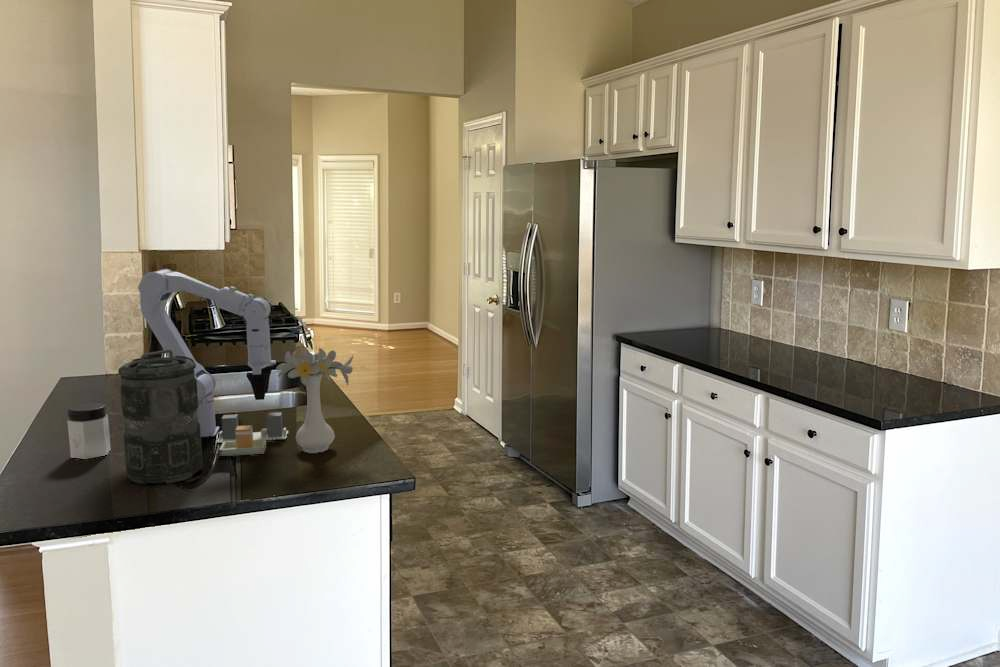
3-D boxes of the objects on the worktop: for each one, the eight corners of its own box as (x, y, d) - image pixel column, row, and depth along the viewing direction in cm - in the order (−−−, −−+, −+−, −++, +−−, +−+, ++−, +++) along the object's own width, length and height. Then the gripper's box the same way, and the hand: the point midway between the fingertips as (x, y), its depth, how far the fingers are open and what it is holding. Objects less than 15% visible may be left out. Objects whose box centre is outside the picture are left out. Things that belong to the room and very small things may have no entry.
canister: (156, 491, 172) (146, 361, 167) (111, 478, 180) (101, 353, 176) (218, 470, 185) (210, 349, 181) (173, 458, 194) (165, 342, 189)
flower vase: (362, 450, 199) (359, 350, 195) (286, 462, 191) (281, 357, 187) (346, 437, 211) (342, 341, 206) (274, 447, 202) (269, 348, 198)
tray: (219, 457, 195) (218, 449, 194) (224, 448, 202) (223, 441, 201) (263, 454, 196) (263, 447, 196) (266, 445, 203) (266, 439, 203)
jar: (62, 458, 194) (58, 409, 192) (89, 448, 202) (84, 401, 200) (92, 461, 192) (88, 412, 190) (118, 451, 199) (114, 403, 197)
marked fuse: (236, 452, 197) (235, 430, 196) (238, 447, 200) (237, 426, 199) (251, 451, 197) (250, 429, 197) (253, 446, 201) (252, 425, 200)
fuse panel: (216, 444, 205) (215, 420, 204) (221, 436, 212) (219, 413, 211) (286, 440, 208) (285, 417, 207) (288, 432, 215) (287, 410, 214)
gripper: (271, 349, 205) (274, 401, 207) (277, 339, 219) (280, 388, 221) (242, 350, 204) (245, 403, 206) (250, 340, 218) (253, 390, 220)
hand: (261, 396), depth 213 cm, fingers open, 7 cm apart
